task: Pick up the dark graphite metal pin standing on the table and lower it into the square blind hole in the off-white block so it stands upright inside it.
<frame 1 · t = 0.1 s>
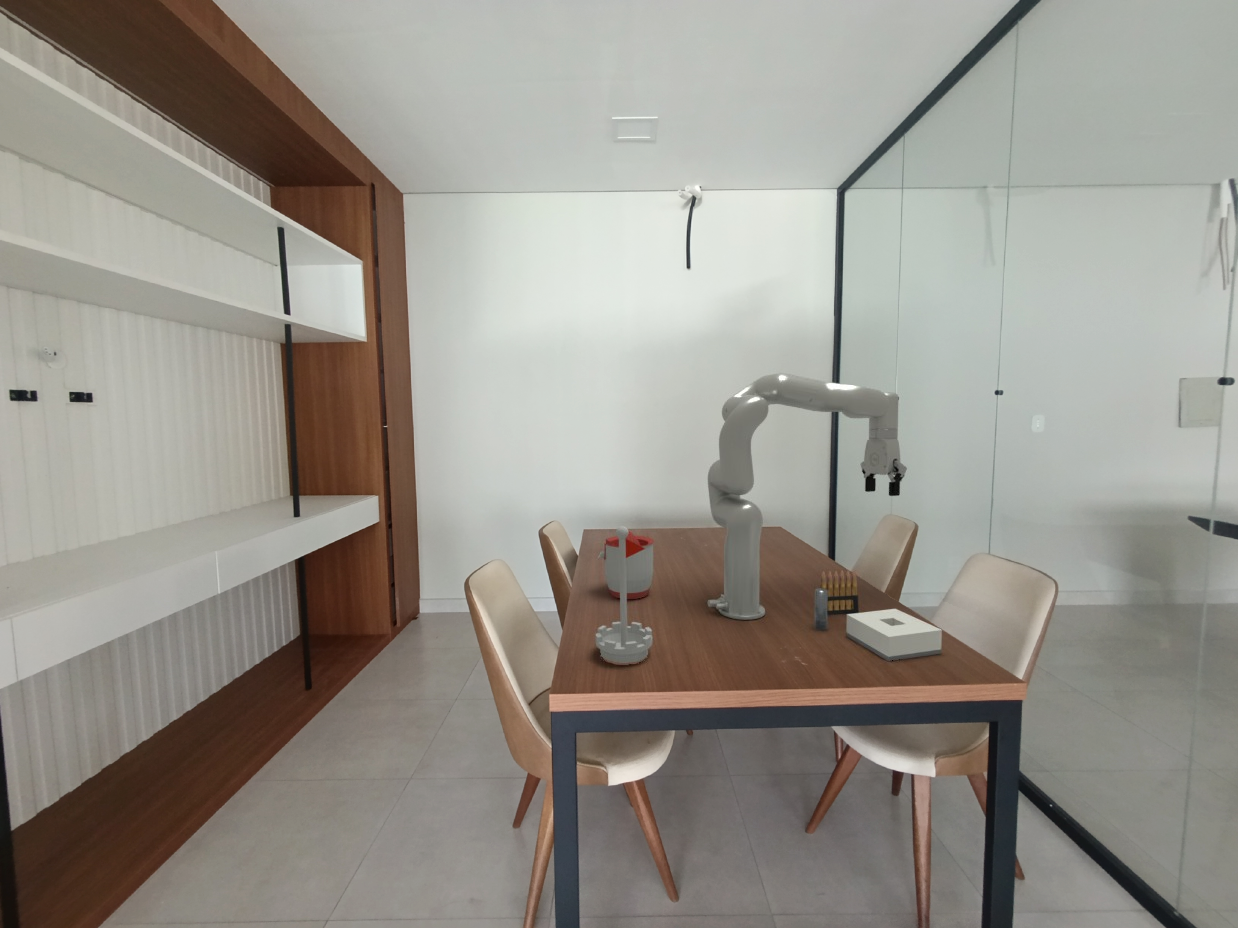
hand: (881, 493, 153), 31 cm above the table, tool pointing down, fingers open, 9 cm apart
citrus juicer: (626, 594, 162), on the table
ammunition clip: (838, 613, 143), on the table
socket block: (891, 644, 123), on the table
pin: (820, 628, 133), on the table
flag stand: (624, 655, 120), on the table
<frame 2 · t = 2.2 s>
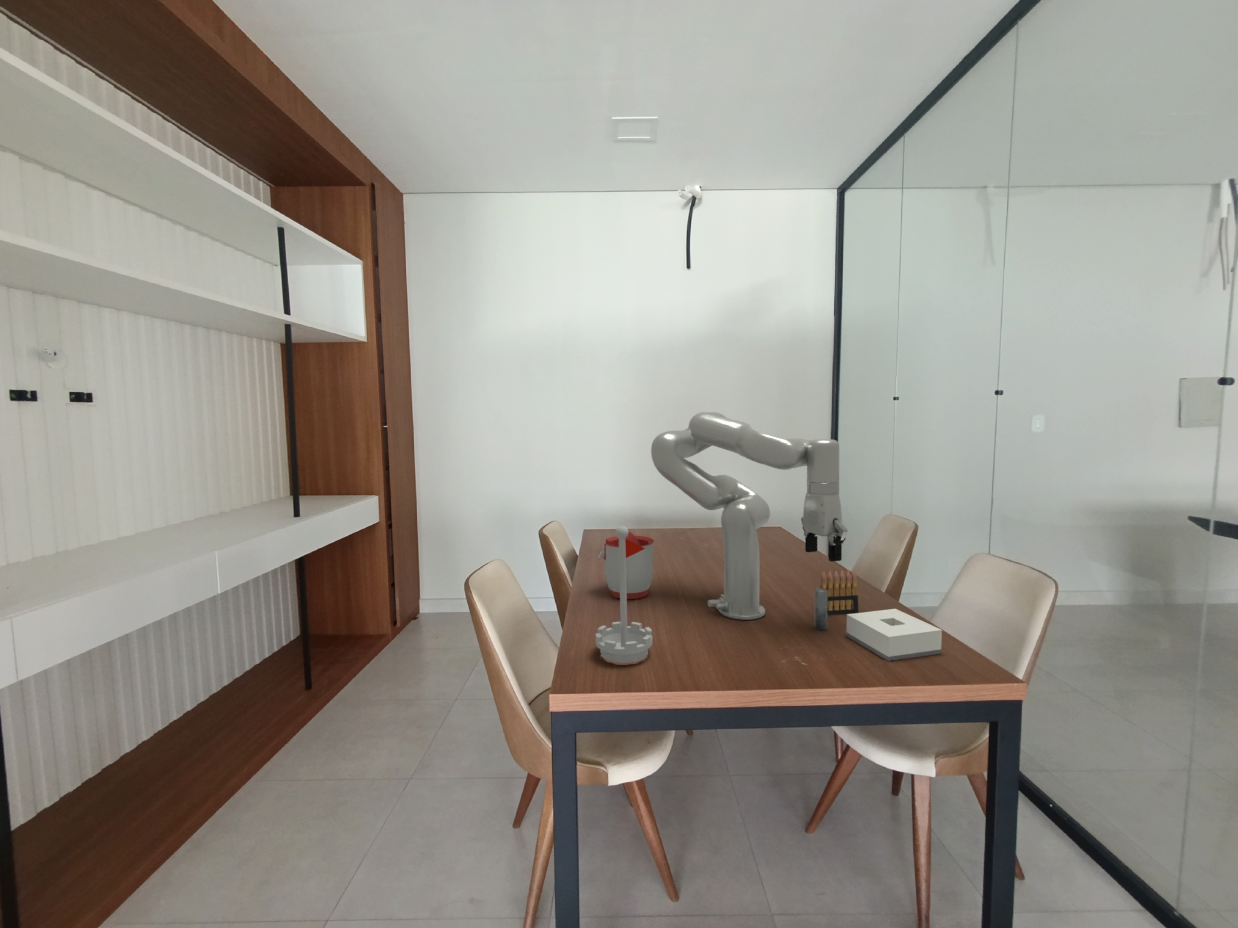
hand: (822, 556, 131), 19 cm above the table, tool pointing down, fingers open, 9 cm apart
nothing on the table moved.
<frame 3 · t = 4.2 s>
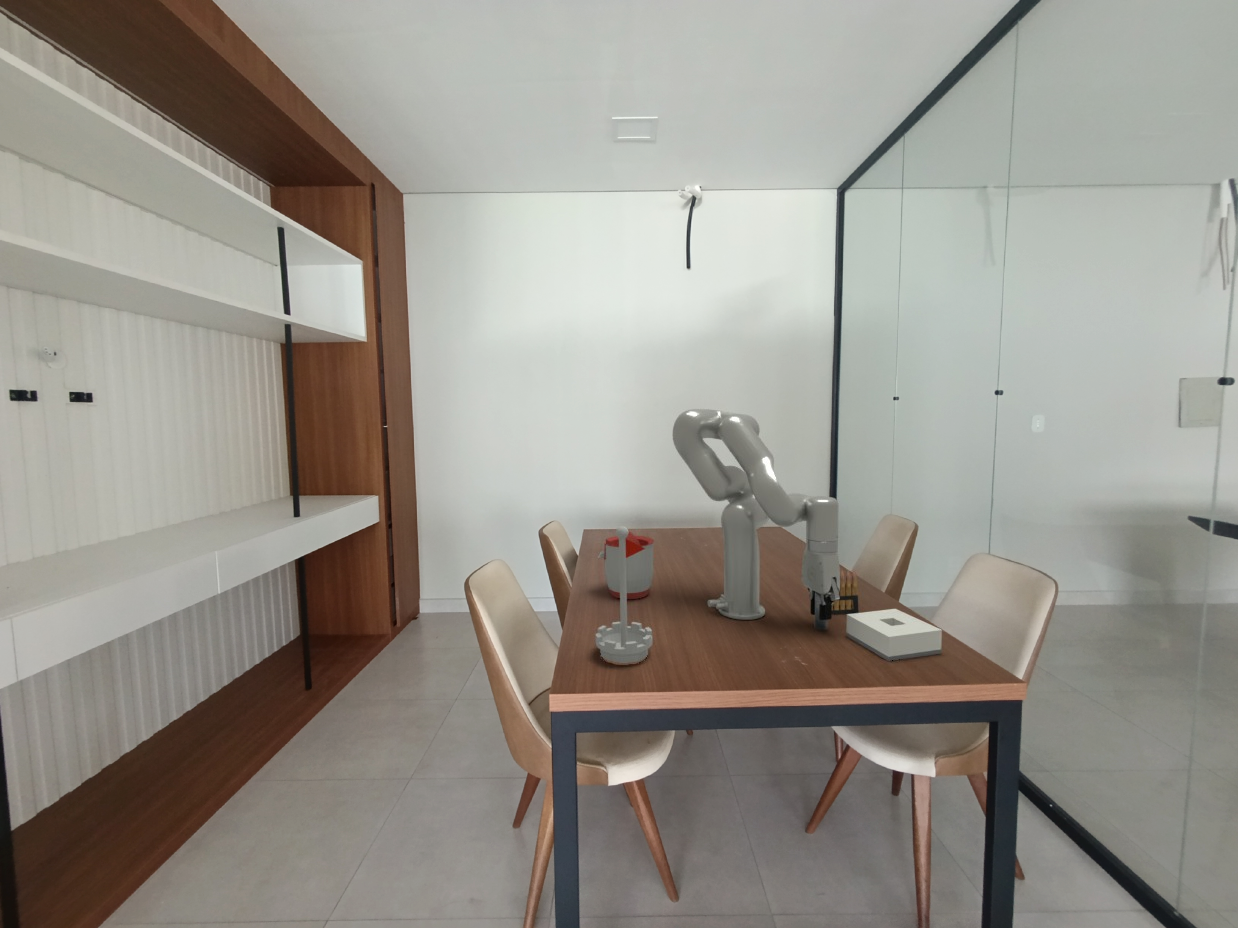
hand: (820, 616, 133), 3 cm above the table, tool pointing down, fingers closed on pin, 3 cm apart
pin: (820, 628, 133), on the table, touching gripper
everything else where it was.
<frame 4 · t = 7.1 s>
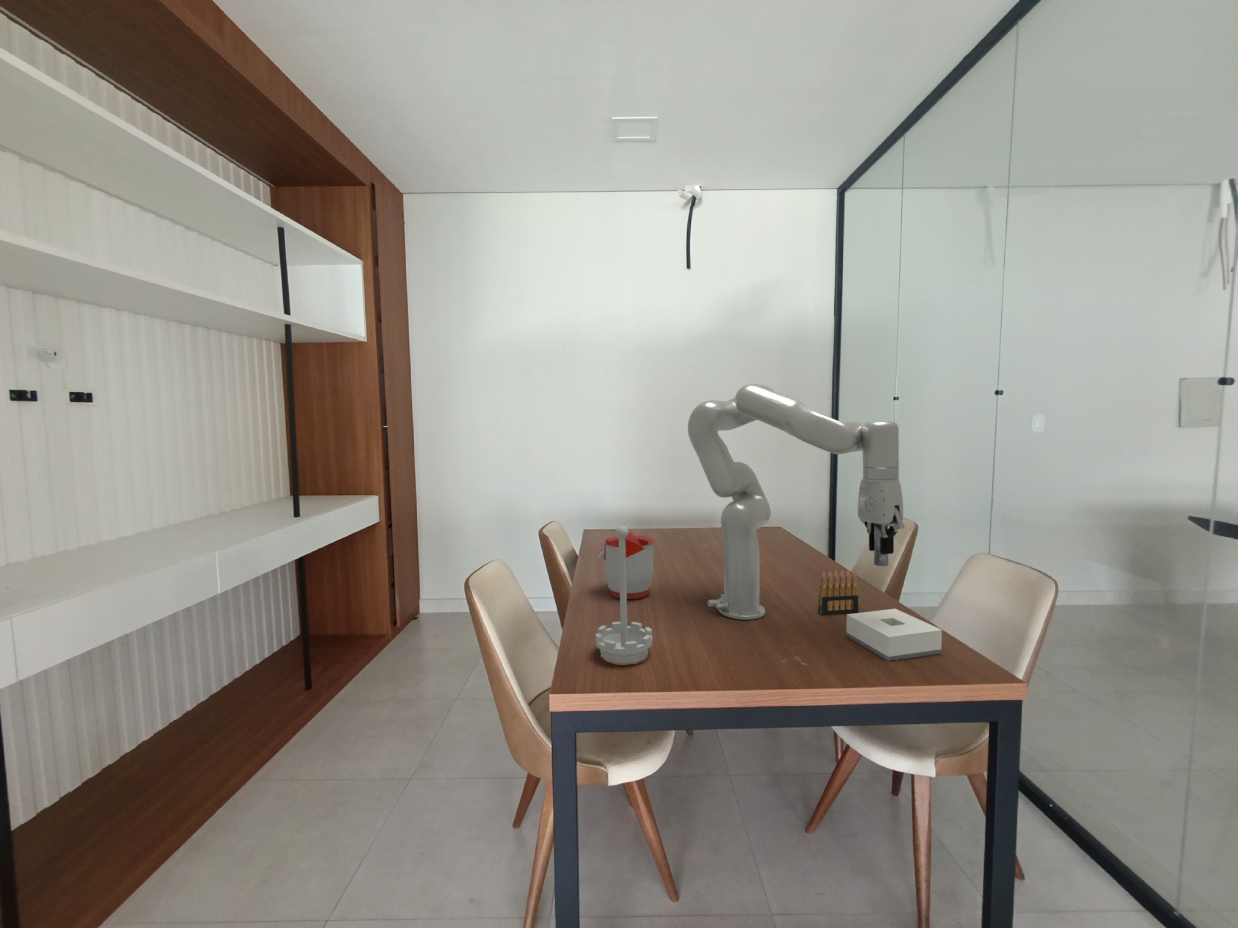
hand: (881, 551, 123), 22 cm above the table, tool pointing down, fingers closed on pin, 3 cm apart
pin: (881, 564, 123), point 19 cm above the table, touching gripper
everything else where it was.
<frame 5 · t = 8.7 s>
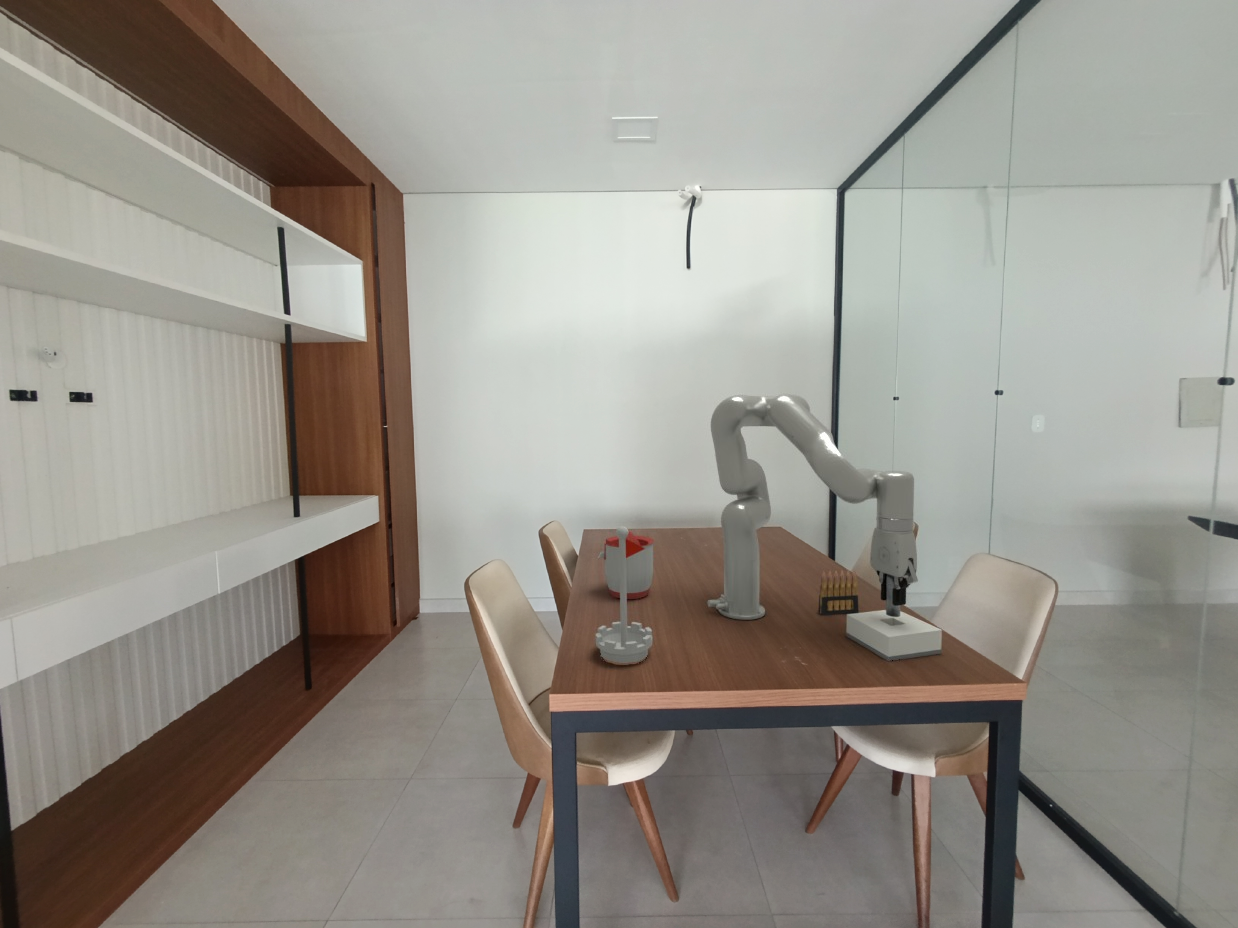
hand: (893, 601, 122), 10 cm above the table, tool pointing down, fingers closed on pin, 3 cm apart
pin: (893, 614, 122), point 7 cm above the table, touching gripper
everything else where it was.
when the fingers open (6 cm above the table, at t = 9.9 s): pin drops 2 cm, resting on socket block.
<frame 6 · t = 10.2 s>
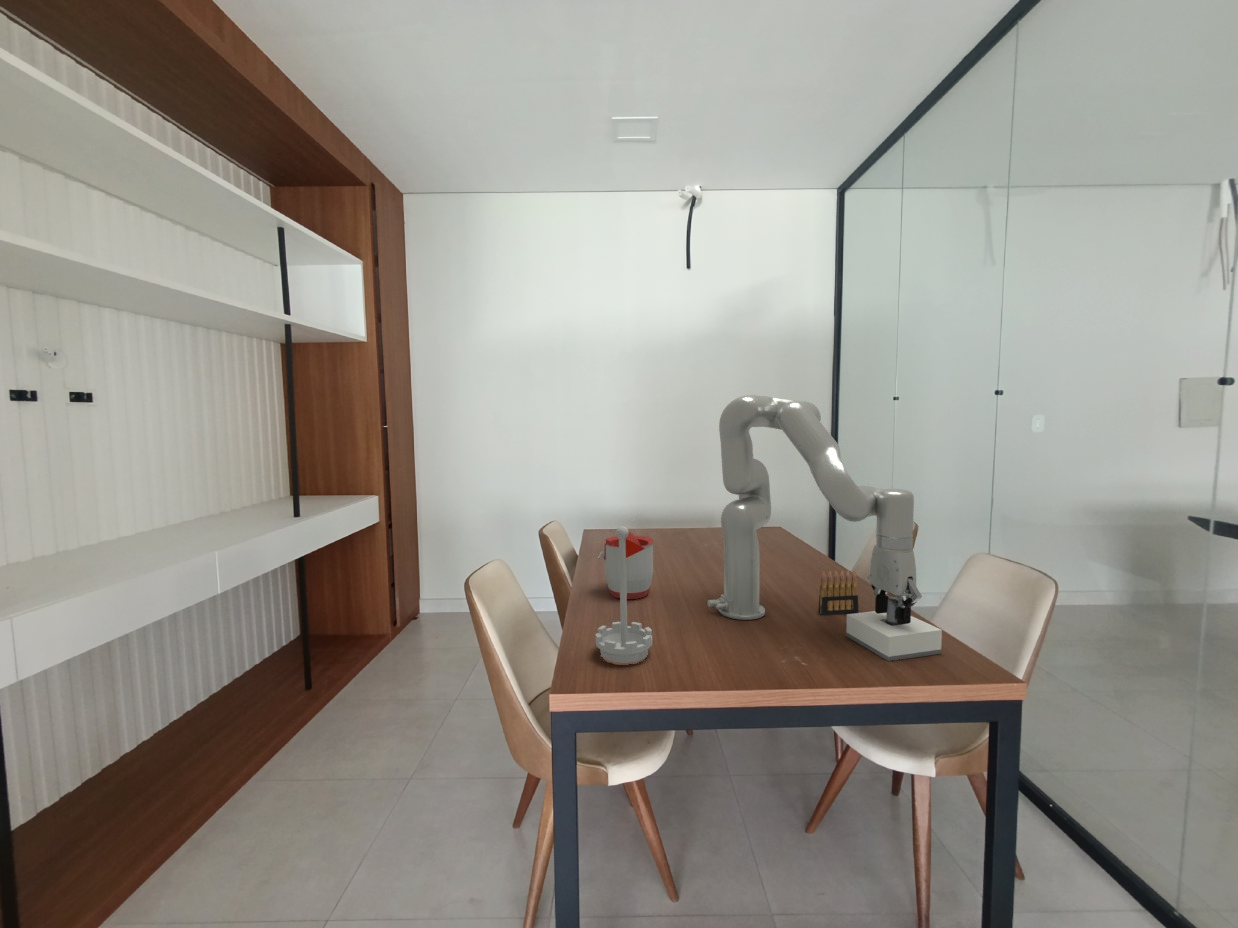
hand: (892, 617, 122), 7 cm above the table, tool pointing down, fingers open, 6 cm apart
pin: (891, 639, 123), point 1 cm above the table, touching socket block
everything else where it was.
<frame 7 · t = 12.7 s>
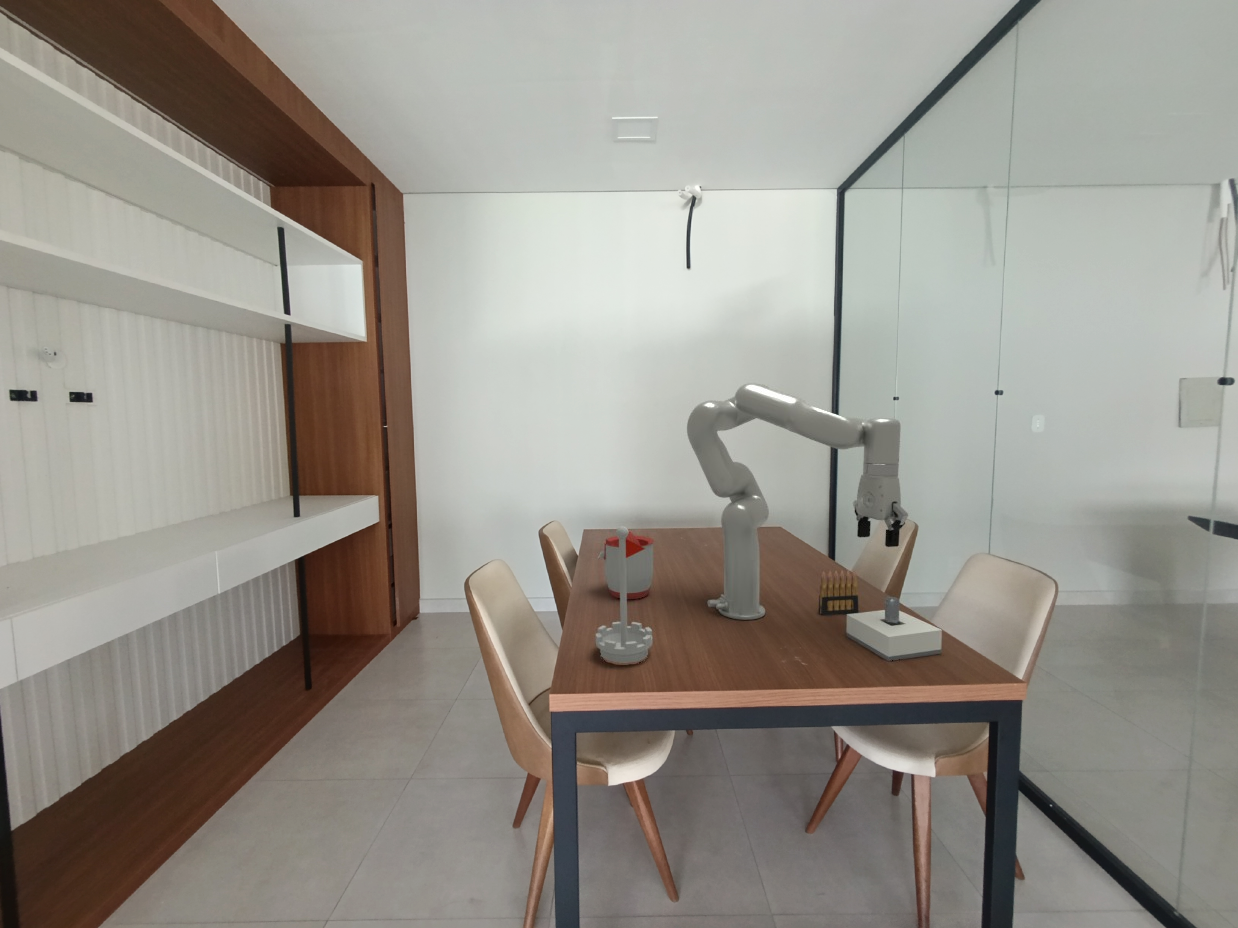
hand: (877, 541, 125), 24 cm above the table, tool pointing down, fingers open, 9 cm apart
nothing on the table moved.
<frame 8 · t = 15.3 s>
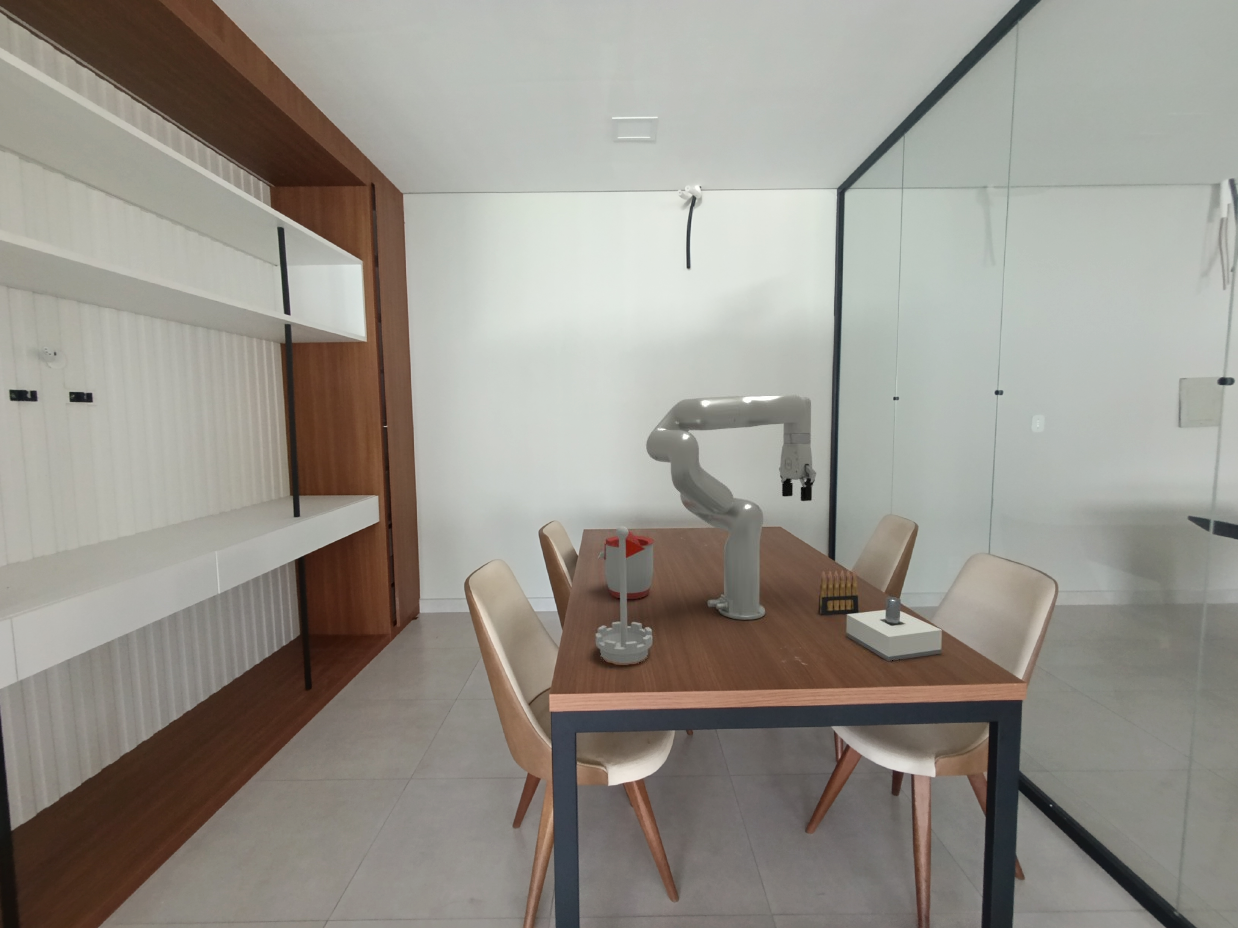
hand: (796, 498, 152), 30 cm above the table, tool pointing down, fingers open, 9 cm apart
nothing on the table moved.
at the end: pin 0.0 cm off-centre on the socket block, point 1.0 cm above the socket block's base; pin tilted 1°; the gripper is holding nothing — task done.
